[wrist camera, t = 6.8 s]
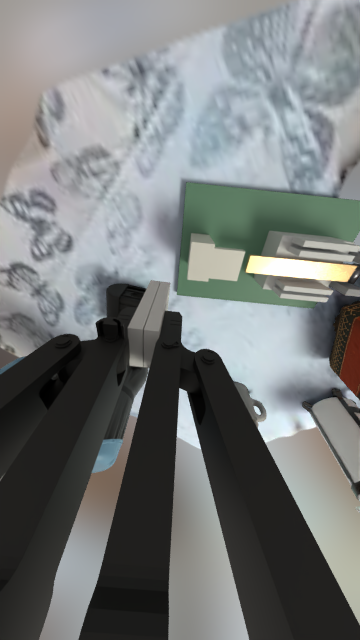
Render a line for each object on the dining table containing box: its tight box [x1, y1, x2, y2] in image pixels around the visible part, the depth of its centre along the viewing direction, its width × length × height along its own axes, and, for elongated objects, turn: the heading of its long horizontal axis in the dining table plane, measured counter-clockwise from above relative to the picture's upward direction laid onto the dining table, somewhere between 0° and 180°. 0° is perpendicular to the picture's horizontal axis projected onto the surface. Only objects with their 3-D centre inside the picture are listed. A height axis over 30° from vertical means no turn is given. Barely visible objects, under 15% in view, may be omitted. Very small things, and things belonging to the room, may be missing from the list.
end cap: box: [106, 284, 146, 318], centre depth 36 cm, size 10×7×7 cm
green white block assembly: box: [177, 182, 360, 309], centre depth 28 cm, size 28×18×9 cm, turn 85°
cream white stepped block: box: [187, 233, 245, 282], centre depth 27 cm, size 7×5×8 cm
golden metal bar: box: [244, 254, 360, 284], centre depth 26 cm, size 17×3×1 cm, turn 85°
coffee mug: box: [234, 382, 266, 428], centre depth 50 cm, size 13×10×10 cm
